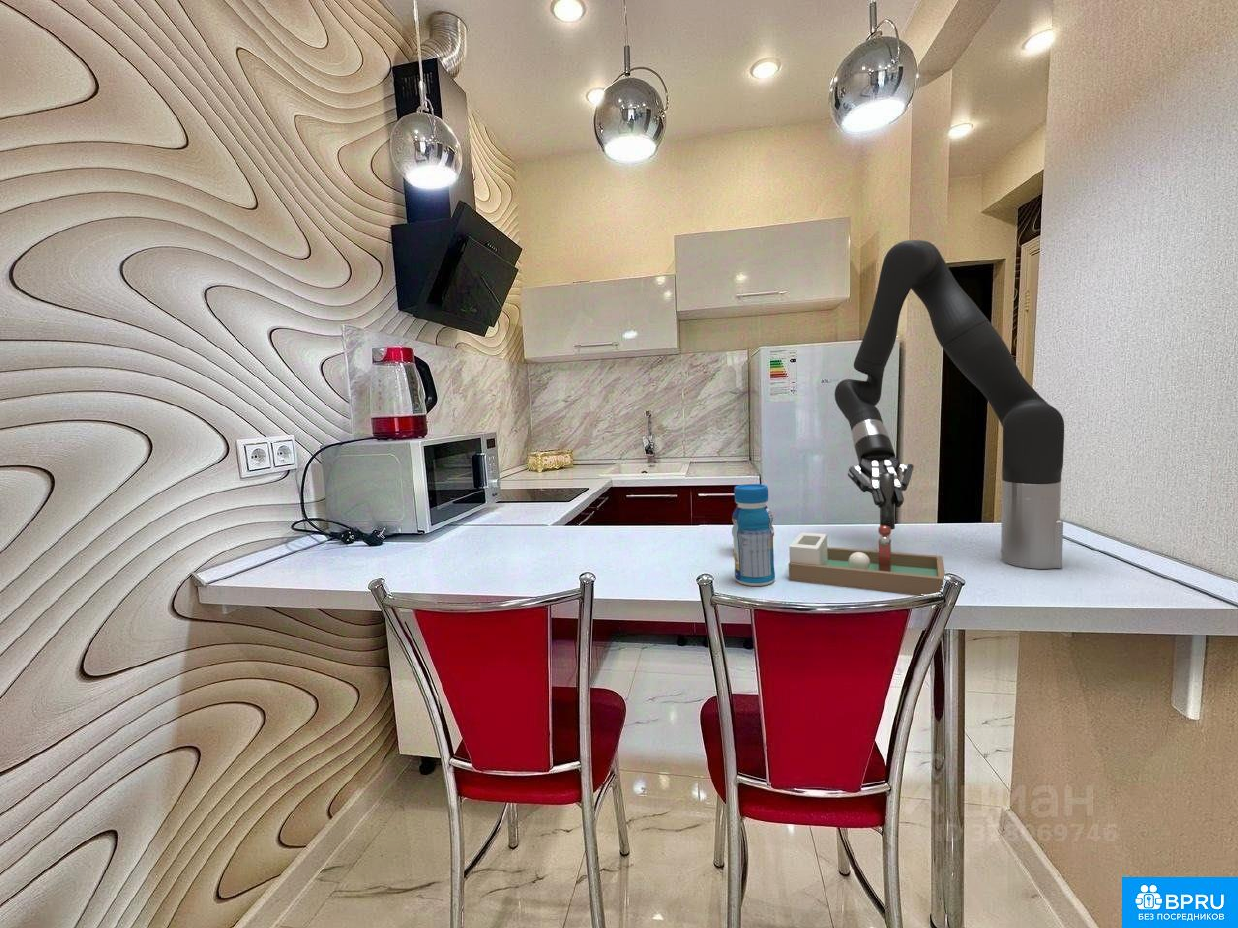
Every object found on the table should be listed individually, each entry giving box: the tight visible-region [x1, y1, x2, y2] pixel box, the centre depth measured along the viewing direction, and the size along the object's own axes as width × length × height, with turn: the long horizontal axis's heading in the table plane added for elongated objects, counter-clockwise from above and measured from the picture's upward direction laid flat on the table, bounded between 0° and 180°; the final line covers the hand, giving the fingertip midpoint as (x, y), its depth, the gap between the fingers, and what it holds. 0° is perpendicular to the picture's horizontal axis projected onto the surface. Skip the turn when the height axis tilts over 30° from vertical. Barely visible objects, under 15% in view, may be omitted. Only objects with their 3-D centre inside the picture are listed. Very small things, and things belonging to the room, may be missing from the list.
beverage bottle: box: [731, 483, 776, 587], centre depth 102 cm, size 8×8×20 cm
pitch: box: [788, 532, 946, 596], centre depth 100 cm, size 27×14×7 cm, turn 59°
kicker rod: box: [877, 472, 896, 572], centre depth 102 cm, size 3×13×19 cm, turn 149°
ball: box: [849, 552, 870, 570], centre depth 101 cm, size 4×4×4 cm
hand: (890, 505), depth 104 cm, fingers closed on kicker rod, 3 cm apart
